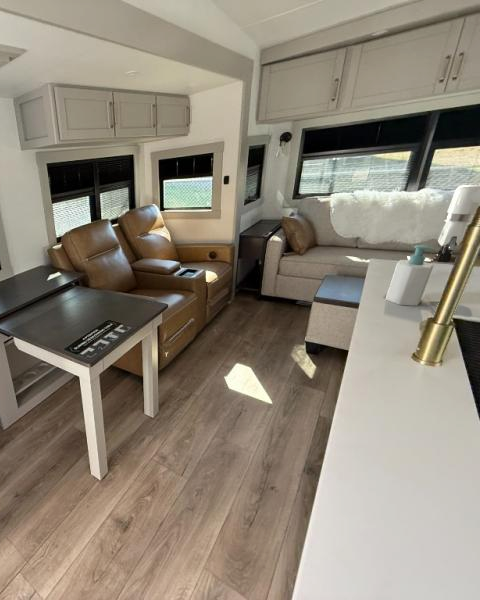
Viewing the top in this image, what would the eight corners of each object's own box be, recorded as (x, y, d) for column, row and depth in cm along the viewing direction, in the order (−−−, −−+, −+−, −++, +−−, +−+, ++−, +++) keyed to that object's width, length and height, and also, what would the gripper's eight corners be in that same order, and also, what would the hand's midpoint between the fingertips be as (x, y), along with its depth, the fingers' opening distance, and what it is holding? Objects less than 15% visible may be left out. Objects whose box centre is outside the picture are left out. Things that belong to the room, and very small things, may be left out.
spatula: (407, 260, 140) (410, 254, 139) (406, 257, 144) (408, 251, 143) (467, 265, 129) (470, 258, 128) (464, 262, 134) (467, 255, 132)
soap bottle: (415, 308, 118) (437, 251, 109) (383, 301, 125) (401, 247, 116) (421, 300, 123) (442, 245, 115) (389, 294, 130) (407, 241, 122)
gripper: (441, 214, 136) (426, 255, 143) (448, 220, 125) (432, 265, 132) (468, 214, 132) (451, 257, 139) (478, 221, 120) (459, 267, 128)
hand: (442, 260), depth 135 cm, fingers closed on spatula, 3 cm apart
